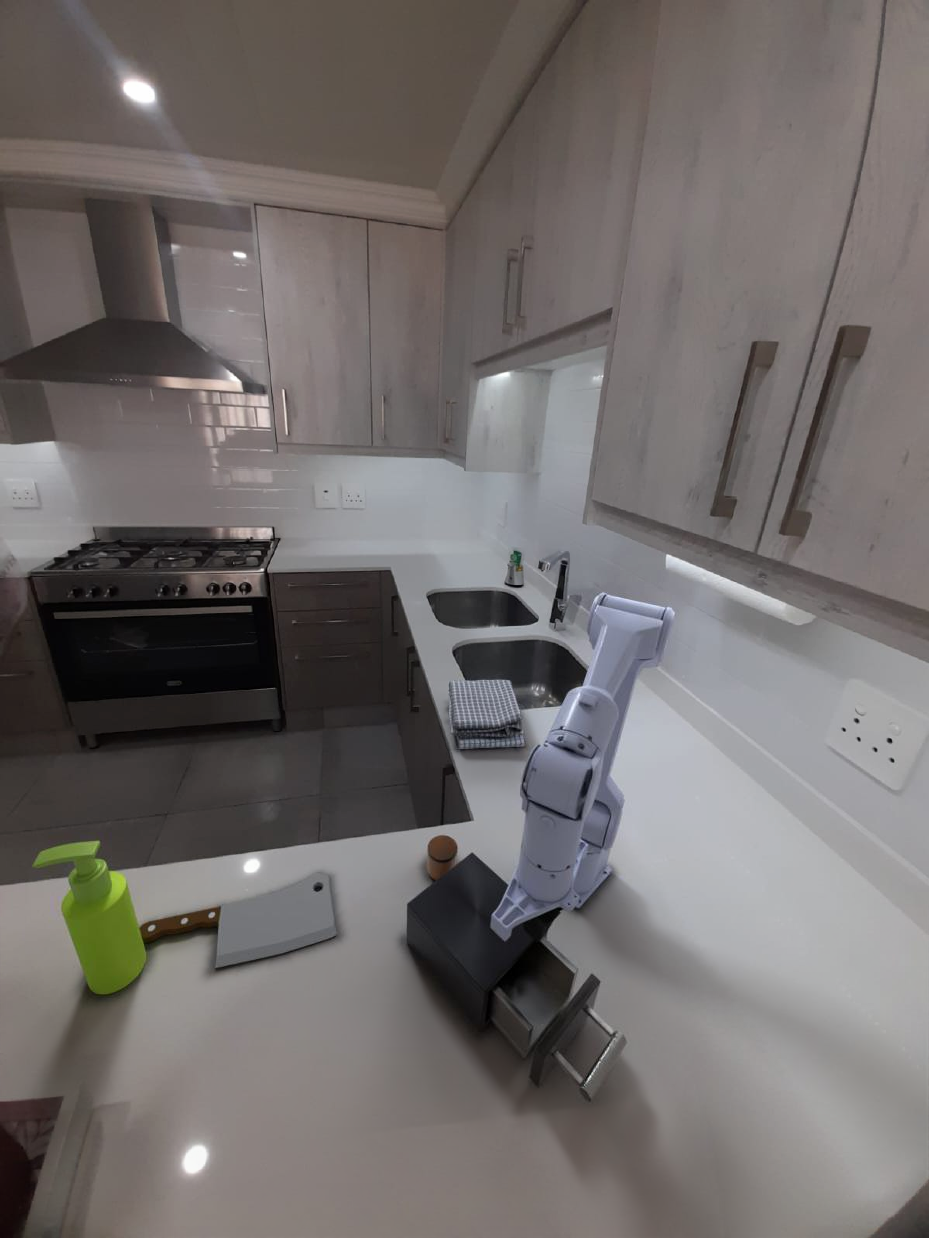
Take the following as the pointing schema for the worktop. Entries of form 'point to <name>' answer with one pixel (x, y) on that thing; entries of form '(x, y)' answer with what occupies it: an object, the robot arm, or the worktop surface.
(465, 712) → the towel
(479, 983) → the black drawer cabinet
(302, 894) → the kitchen cleaver
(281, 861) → the worktop surface
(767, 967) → the worktop surface
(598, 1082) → the drawer
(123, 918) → the soap dispenser
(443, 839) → the spice tin
